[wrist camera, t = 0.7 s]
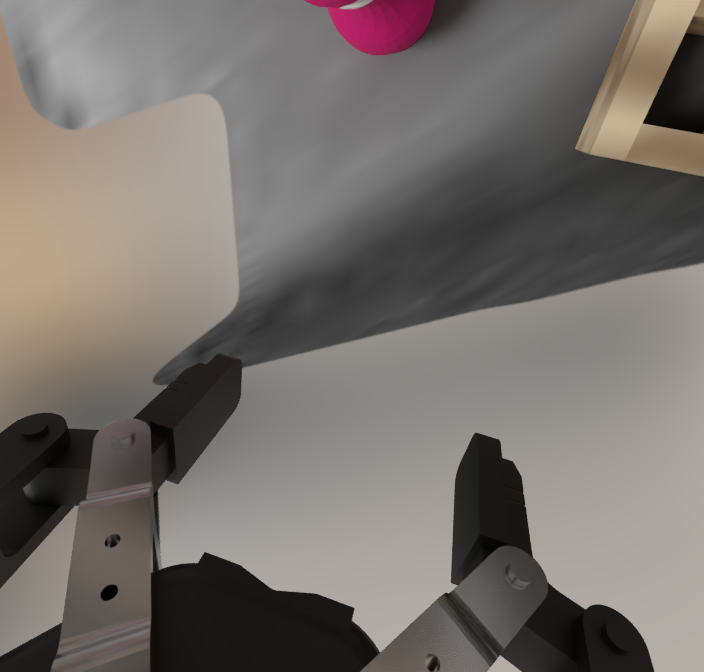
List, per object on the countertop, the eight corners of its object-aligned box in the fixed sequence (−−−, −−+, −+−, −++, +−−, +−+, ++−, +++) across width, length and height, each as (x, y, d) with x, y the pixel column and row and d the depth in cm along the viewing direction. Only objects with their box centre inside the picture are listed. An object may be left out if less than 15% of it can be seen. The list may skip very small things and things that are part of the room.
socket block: (643, -20, 26) (674, -43, 22) (816, 4, 25) (880, -16, 21) (574, 149, 31) (589, 154, 27) (714, 176, 30) (750, 185, 26)
